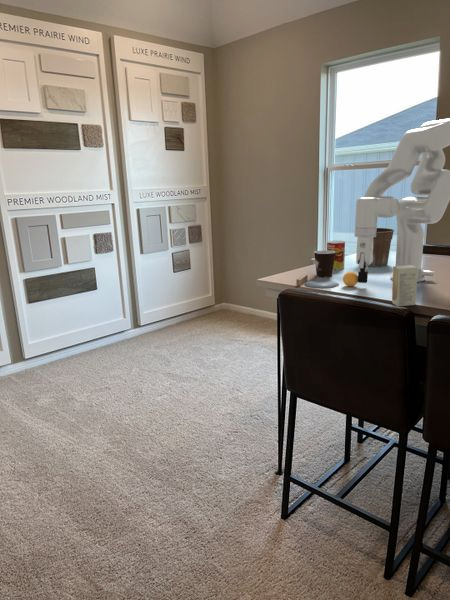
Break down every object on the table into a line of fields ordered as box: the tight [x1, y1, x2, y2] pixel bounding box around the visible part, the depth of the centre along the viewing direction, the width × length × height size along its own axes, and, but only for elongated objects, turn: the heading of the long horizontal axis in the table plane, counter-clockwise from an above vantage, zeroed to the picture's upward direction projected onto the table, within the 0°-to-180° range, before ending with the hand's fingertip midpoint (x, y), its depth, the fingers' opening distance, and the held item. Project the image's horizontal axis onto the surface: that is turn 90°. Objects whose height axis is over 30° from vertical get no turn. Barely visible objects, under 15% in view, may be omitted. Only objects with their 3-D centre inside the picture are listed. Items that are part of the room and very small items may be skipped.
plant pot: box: [368, 227, 395, 268], centre depth 207 cm, size 16×16×16 cm
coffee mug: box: [313, 250, 335, 278], centre depth 190 cm, size 12×9×10 cm
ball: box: [342, 271, 359, 287], centre depth 169 cm, size 6×6×6 cm
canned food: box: [326, 240, 346, 270], centre depth 203 cm, size 8×8×12 cm
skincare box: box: [391, 265, 418, 307], centre depth 142 cm, size 6×4×12 cm
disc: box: [304, 279, 340, 289], centre depth 174 cm, size 13×13×1 cm
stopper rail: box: [295, 274, 309, 287], centre depth 177 cm, size 2×10×2 cm, turn 154°
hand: (362, 282), depth 166 cm, fingers closed
